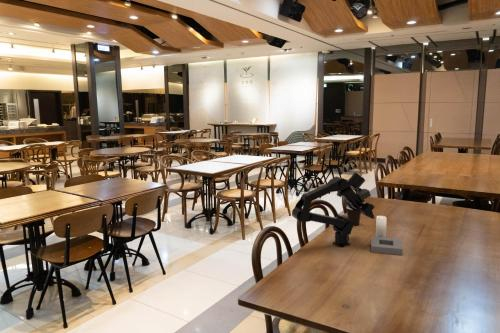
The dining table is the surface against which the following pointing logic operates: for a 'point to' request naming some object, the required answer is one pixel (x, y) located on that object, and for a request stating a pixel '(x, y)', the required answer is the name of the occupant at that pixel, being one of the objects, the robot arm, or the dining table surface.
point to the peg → (381, 226)
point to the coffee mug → (353, 216)
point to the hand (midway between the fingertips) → (368, 215)
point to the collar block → (386, 245)
